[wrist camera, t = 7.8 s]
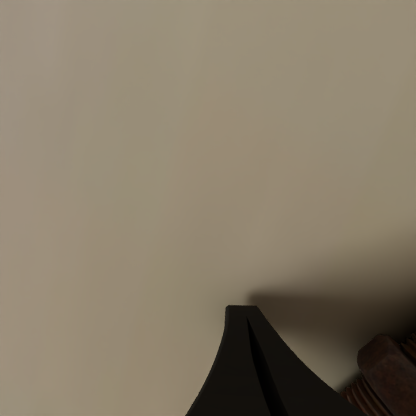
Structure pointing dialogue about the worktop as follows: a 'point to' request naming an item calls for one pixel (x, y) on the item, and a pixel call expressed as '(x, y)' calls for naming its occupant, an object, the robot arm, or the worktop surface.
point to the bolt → (385, 378)
